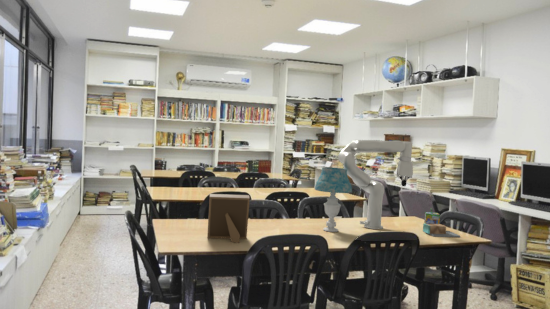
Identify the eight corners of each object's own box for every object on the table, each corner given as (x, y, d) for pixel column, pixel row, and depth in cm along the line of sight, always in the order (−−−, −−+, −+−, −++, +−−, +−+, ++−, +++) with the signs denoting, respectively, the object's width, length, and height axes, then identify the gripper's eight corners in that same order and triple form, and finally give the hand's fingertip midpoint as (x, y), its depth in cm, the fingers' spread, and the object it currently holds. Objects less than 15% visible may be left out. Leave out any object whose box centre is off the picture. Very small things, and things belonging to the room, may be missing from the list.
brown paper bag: (428, 225, 301) (446, 226, 302) (423, 223, 309) (440, 224, 310) (428, 233, 301) (445, 234, 303) (422, 230, 309) (440, 231, 311)
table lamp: (355, 230, 303) (359, 169, 301) (339, 236, 283) (343, 170, 281) (322, 225, 316) (326, 166, 314) (305, 230, 296) (309, 167, 294)
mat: (433, 236, 298) (433, 234, 298) (422, 231, 314) (423, 229, 314) (460, 237, 300) (460, 235, 300) (448, 232, 315) (448, 230, 315)
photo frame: (207, 236, 263) (209, 192, 262) (245, 237, 267) (248, 193, 265) (207, 242, 249) (210, 196, 247) (248, 243, 252) (250, 197, 251)
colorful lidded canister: (439, 231, 316) (440, 209, 315) (425, 230, 318) (426, 208, 317) (437, 229, 325) (438, 208, 325) (423, 227, 327) (425, 206, 326)
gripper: (396, 159, 315) (395, 186, 316) (418, 160, 316) (416, 187, 317) (392, 158, 322) (391, 185, 323) (413, 159, 324) (412, 186, 325)
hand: (403, 186), depth 320 cm, fingers closed
